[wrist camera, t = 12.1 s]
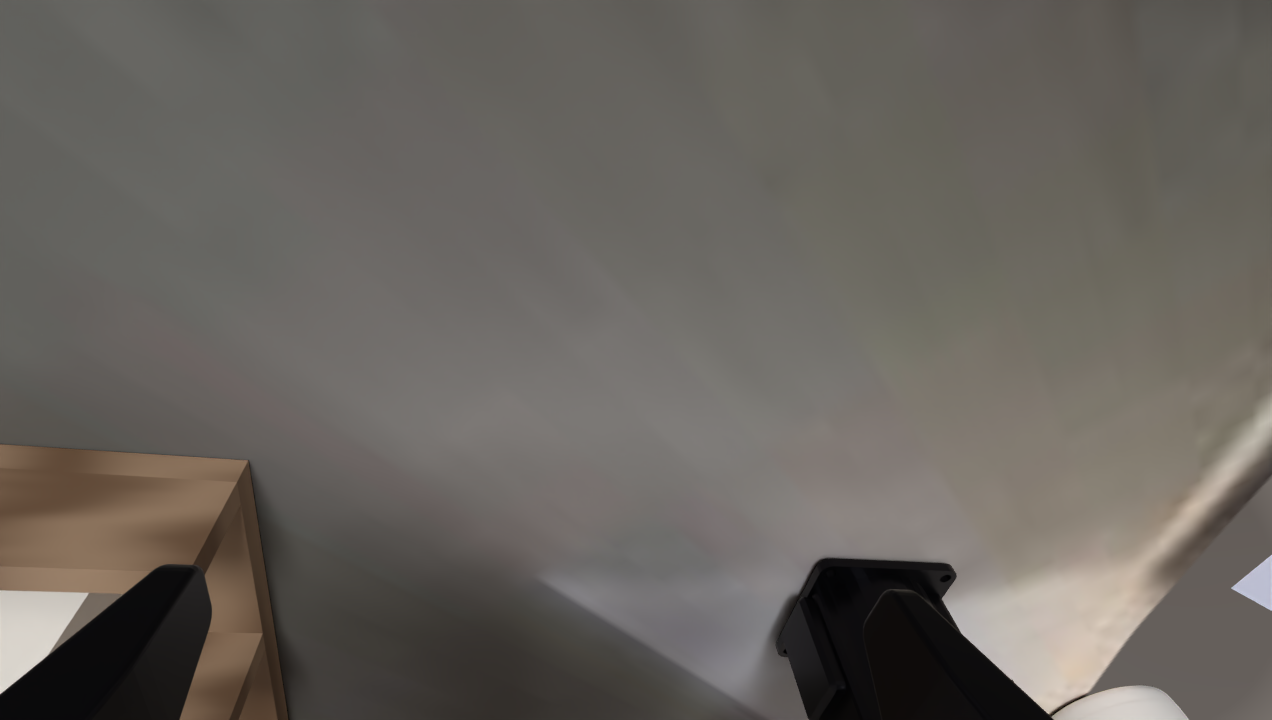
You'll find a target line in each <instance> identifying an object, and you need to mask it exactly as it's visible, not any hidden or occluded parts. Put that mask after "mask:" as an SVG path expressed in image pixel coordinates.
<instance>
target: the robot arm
mask: <svg viewBox="0 0 1272 720" xmlns="http://www.w3.org/2000/svg"><path fill="white" fill-rule="evenodd" d="M956 577H957V575H956V573H955V571H954V569H953V568H952V566H951V565H950V564H942V563H920V562H898V561H876V560H854V559H832V558H831V559H825V560H822V561H821V562H819V563H818V564H817V566H816V568H815V569H814V571H813V573H812V575H811V577H810V579H809V581H808V583H807V585H806V587H805V589H804V590H803V592H802V594H801V596H800V598H799V600H798V602H797V604H796V606H795V608H794V610H793V612H792V613H791V615H790V617H789V619H788V621H787V623H786V625H785V627H784V629H783V631H782V633H781V634H780V636H779V638H778V640H777V642H776V648H777V651H778V654H779V655H780V656H782V657H788V658H789V661H790V664H791V667H792V670H793V673H794V676H795V679H796V682H797V685H798V689H799V692H800V695H801V698H802V701H803V704H804V707H805V710H806V713H807V716H808V719H809V720H1054V719H1053V718H1052V717H1051V716H1050V715H1048V714H1047V713H1046V712H1045V711H1044V710H1043V709H1042V708H1041V707H1040V706H1039V705H1038V704H1037V703H1036V702H1034V701H1033V700H1032V699H1031V698H1030V697H1029V696H1028V695H1027V694H1026V693H1025V692H1024V691H1023V690H1022V689H1020V688H1019V687H1018V686H1017V685H1016V684H1015V683H1014V681H1013V680H1011V679H1010V678H1009V677H1007V676H1006V675H1005V674H1004V673H1003V672H1002V671H1001V670H1000V669H999V668H998V667H997V666H996V665H995V664H993V663H992V662H991V661H990V660H989V659H988V658H987V657H986V656H985V655H984V654H983V653H982V652H981V651H979V650H978V649H977V648H976V647H975V646H974V645H973V644H972V643H971V642H970V641H969V640H968V639H967V638H965V637H964V636H963V635H962V634H961V632H960V630H959V629H958V627H957V625H956V623H955V622H954V620H953V618H952V616H951V615H950V613H949V611H948V609H947V608H946V606H945V604H944V602H943V601H942V597H943V596H944V595H945V593H946V592H947V590H948V589H949V587H950V586H951V585H952V583H953V582H954V580H955V579H956ZM211 619H212V605H211V600H210V596H209V592H208V587H207V583H206V579H205V575H204V572H203V569H202V568H201V567H199V566H198V565H186V564H165V565H162V566H159V567H157V568H155V569H154V570H153V571H151V572H150V573H149V574H148V575H147V576H145V577H144V578H143V579H142V580H140V581H139V582H138V583H137V584H135V585H134V586H133V587H132V588H130V589H129V590H128V591H127V592H126V593H124V594H123V595H122V596H121V597H119V598H118V599H117V600H116V601H114V602H113V603H112V604H111V605H110V606H108V607H107V608H106V609H105V610H103V611H102V612H101V613H100V614H98V615H97V616H96V617H95V618H93V619H92V620H91V621H90V622H89V623H87V624H86V625H85V626H84V627H82V628H81V629H80V630H79V631H77V632H76V633H75V634H74V635H73V636H71V637H70V638H69V639H68V640H66V641H65V642H64V643H63V644H61V645H60V646H59V647H58V648H56V649H55V650H54V651H53V652H52V653H50V654H49V655H48V656H47V657H45V658H44V659H43V660H42V661H40V662H39V663H38V664H37V665H36V666H34V667H33V668H32V669H31V670H29V671H28V672H27V673H26V674H24V675H23V676H22V677H21V678H20V679H18V680H17V681H16V682H15V683H13V684H12V685H11V686H10V687H8V688H7V689H6V690H5V691H3V692H2V693H1V694H0V720H180V717H181V714H182V711H183V708H184V705H185V702H186V698H187V695H188V692H189V689H190V686H191V683H192V680H193V677H194V674H195V671H196V668H197V665H198V662H199V658H200V655H201V652H202V649H203V646H204V643H205V640H206V637H207V634H208V631H209V627H210V624H211Z"/></svg>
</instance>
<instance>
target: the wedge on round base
mask: <svg viewBox="0 0 1272 720" xmlns="http://www.w3.org/2000/svg"><path fill="white" fill-rule="evenodd" d="M1231 589H1233V590H1235V591H1237V592H1238V593H1240V594H1242V595H1244V596H1246V597H1248V598H1250V599H1251V600H1253V601H1255V602H1257V603H1258V604H1260V605H1262V606H1264V607H1266V608H1267V609H1269V610H1271V611H1272V555H1271V556H1270V557H1268V558H1267V559H1266V560H1265V561H1264V562H1263V563H1261V564H1260V565H1259V566H1257V567H1256V568H1255V569H1254V570H1252V571H1251V572H1250V573H1249V574H1248V575H1246V576H1245V577H1244V578H1243V579H1241V580H1240V581H1239V582H1238V583H1237V584H1235V585H1234V586H1233V587H1232V588H1231Z"/></svg>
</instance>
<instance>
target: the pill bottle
mask: <svg viewBox="0 0 1272 720" xmlns="http://www.w3.org/2000/svg"><path fill="white" fill-rule="evenodd" d="M1052 718H1053V719H1054V720H1189V719H1188V718H1187V717H1186V715H1185V714H1184V713H1183V711H1182V710H1181V709H1180V708H1179V707H1178V705H1176V704H1175V702H1174V701H1173V700H1172V699H1171V698H1170V697H1169V696H1168V695H1167V694H1166V693H1165V692H1163V691H1162V690H1160V689H1158V688H1155V687H1152V686H1145V685H1135V686H1124V687H1118V688H1112V689H1109V690H1104V691H1101V692H1098V693H1095V694H1092V695H1089V696H1087V697H1084V698H1082V699H1080V700H1077V701H1075V702H1073V703H1071V704H1070V705H1068V706H1066V707H1064V708H1063V709H1061V710H1060V711H1058V712H1057V713H1056V714H1054V715H1053V716H1052Z"/></svg>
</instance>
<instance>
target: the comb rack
mask: <svg viewBox="0 0 1272 720" xmlns="http://www.w3.org/2000/svg"><path fill="white" fill-rule="evenodd" d="M165 564H186V565H198V566H199V567H201V568H202V569H203V572H204V575H205V579H206V583H207V587H208V592H209V596H210V600H211V605H212V619H211V624H210V627H209V631H208V634H207V637H206V640H205V643H204V646H203V649H202V652H201V655H200V658H199V662H198V665H197V668H196V671H195V674H194V677H193V680H192V683H191V686H190V689H189V692H188V695H187V698H186V702H185V705H184V708H183V711H182V714H181V717H180V720H288V714H287V707H286V701H285V694H284V688H283V681H282V675H281V668H280V662H279V655H278V649H277V642H276V636H275V629H274V623H273V616H272V610H271V604H270V597H269V591H268V584H267V578H266V571H265V565H264V558H263V552H262V545H261V539H260V532H259V526H258V519H257V513H256V506H255V500H254V493H253V487H252V481H251V474H250V468H249V461H248V460H232V459H217V458H202V457H187V456H171V455H156V454H141V453H125V452H110V451H95V450H80V449H64V448H49V447H34V446H19V445H3V444H0V590H5V591H41V592H78V593H115V594H124V593H126V592H127V591H128V590H129V589H130V588H132V587H133V586H134V585H135V584H137V583H138V582H139V581H140V580H142V579H143V578H144V577H145V576H147V575H148V574H149V573H150V572H151V571H153V570H154V569H155V568H157V567H159V566H162V565H165Z"/></svg>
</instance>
